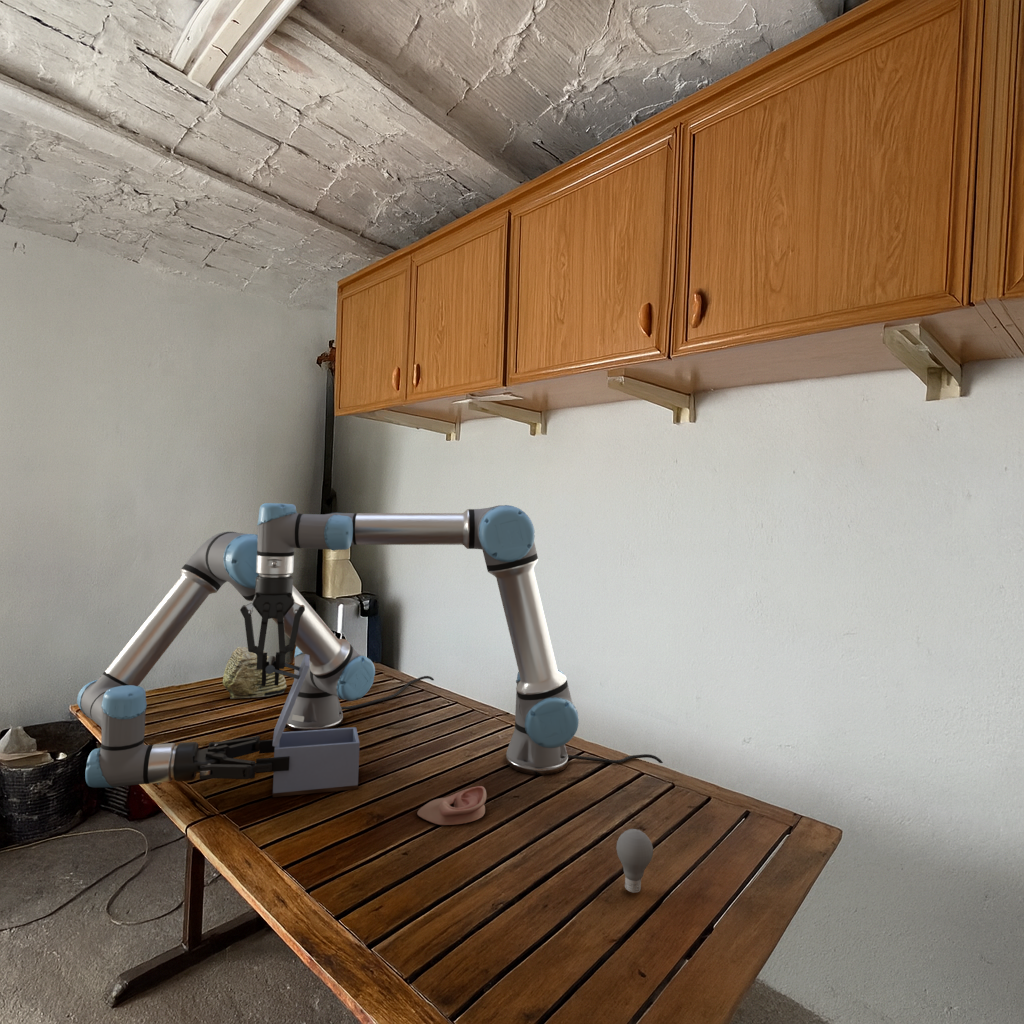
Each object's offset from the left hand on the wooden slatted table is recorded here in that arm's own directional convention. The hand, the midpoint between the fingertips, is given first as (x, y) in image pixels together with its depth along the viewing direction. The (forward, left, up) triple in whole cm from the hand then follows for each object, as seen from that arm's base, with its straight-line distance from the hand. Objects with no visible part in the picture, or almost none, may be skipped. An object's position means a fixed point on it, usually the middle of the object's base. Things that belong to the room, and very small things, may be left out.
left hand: (289, 753), depth 138 cm
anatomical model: (-16, +34, -7) cm, 38 cm away
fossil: (-27, -62, -7) cm, 68 cm away
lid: (0, 0, +12) cm, 12 cm away
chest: (-5, +3, -7) cm, 9 cm away
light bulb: (-18, +74, -7) cm, 77 cm away
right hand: (+4, -3, +16) cm, 16 cm away
